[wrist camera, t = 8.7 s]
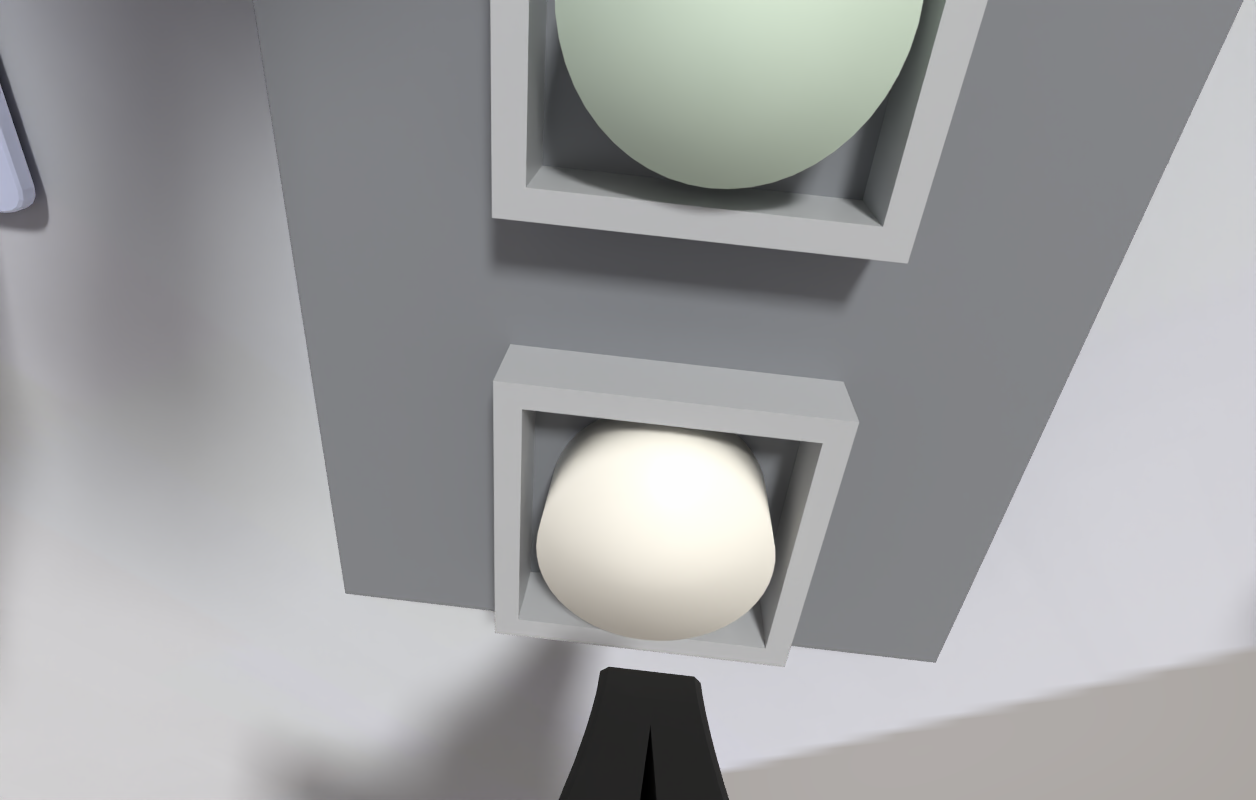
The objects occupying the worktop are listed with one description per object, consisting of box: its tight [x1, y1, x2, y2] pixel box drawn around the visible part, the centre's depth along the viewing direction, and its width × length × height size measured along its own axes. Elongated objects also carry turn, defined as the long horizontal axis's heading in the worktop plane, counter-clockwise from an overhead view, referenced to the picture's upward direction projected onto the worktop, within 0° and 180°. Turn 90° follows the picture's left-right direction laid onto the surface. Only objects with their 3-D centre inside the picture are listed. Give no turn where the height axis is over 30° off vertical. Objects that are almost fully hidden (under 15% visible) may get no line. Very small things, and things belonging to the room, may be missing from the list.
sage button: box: [555, 0, 923, 189], centre depth 9 cm, size 4×4×2 cm
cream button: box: [536, 418, 775, 641], centre depth 14 cm, size 4×4×2 cm
